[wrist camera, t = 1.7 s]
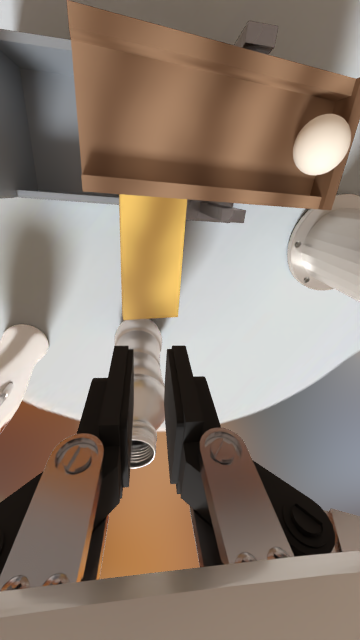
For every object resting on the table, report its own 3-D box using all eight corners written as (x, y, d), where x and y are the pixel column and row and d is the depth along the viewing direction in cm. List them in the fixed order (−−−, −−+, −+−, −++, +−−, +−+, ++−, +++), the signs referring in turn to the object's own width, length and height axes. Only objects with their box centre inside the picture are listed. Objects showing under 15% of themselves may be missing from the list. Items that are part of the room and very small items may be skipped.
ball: (329, 124, 22) (373, 112, 18) (314, 178, 23) (352, 177, 20) (289, 116, 20) (328, 102, 17) (277, 173, 22) (310, 171, 19)
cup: (136, 78, 25) (129, -1, 15) (136, 202, 30) (131, 210, 20) (14, 61, 24) (-92, -41, 13) (35, 195, 29) (-30, 199, 18)
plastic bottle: (140, 302, 36) (135, 411, 18) (170, 333, 39) (190, 454, 21) (106, 328, 37) (71, 454, 20) (138, 357, 40) (131, 489, 23)
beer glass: (62, 343, 38) (16, 427, 24) (31, 370, 39) (-28, 463, 26) (20, 311, 35) (-58, 386, 21) (-12, 341, 36) (-103, 430, 23)
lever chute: (309, 102, 25) (372, 79, 19) (265, 290, 33) (299, 311, 28) (73, 50, 19) (65, -7, 13) (93, 296, 27) (93, 324, 22)
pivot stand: (249, 76, 26) (311, 9, 16) (227, 222, 33) (263, 236, 23) (191, 68, 26) (220, -9, 16) (180, 218, 32) (196, 232, 22)
